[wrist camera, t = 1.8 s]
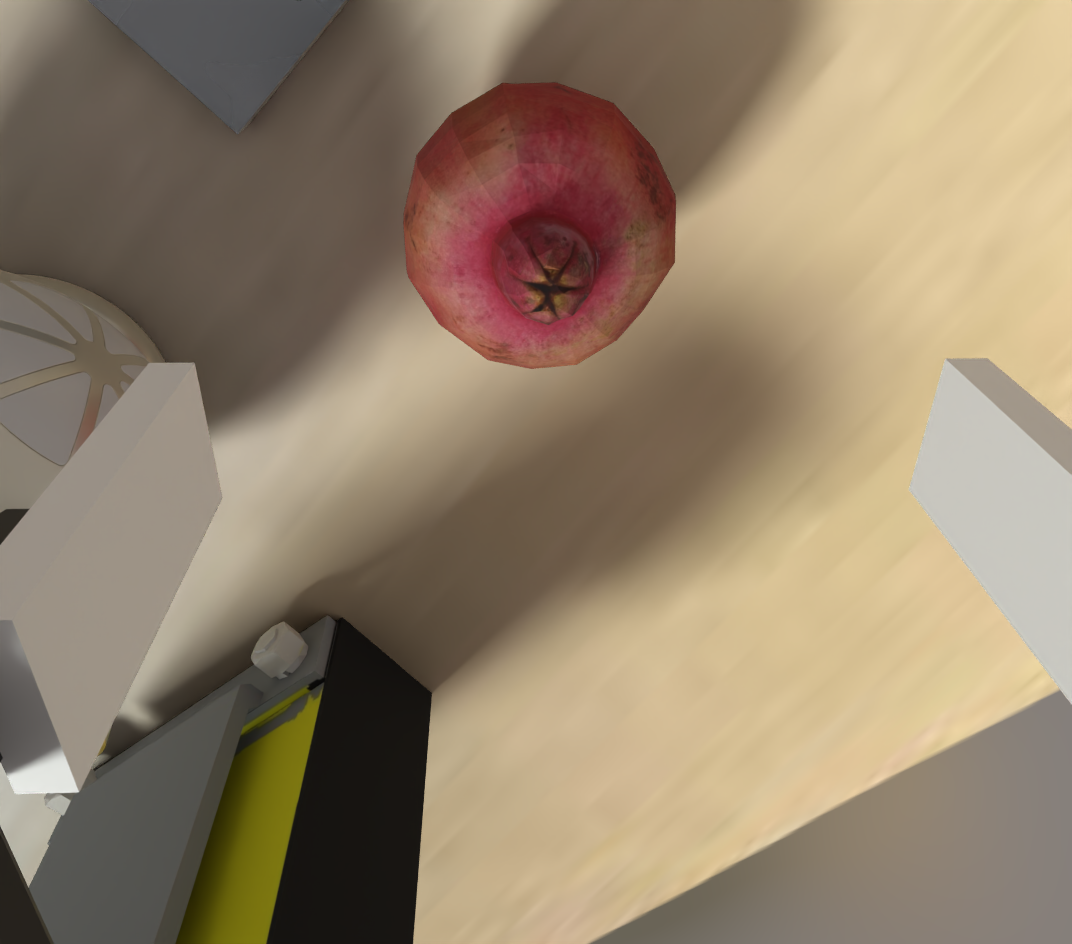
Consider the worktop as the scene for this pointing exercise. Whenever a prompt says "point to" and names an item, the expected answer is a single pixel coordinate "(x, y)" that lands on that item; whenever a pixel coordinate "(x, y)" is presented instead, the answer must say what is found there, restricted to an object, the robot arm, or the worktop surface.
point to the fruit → (538, 224)
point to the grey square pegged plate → (225, 45)
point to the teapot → (58, 378)
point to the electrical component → (255, 810)
